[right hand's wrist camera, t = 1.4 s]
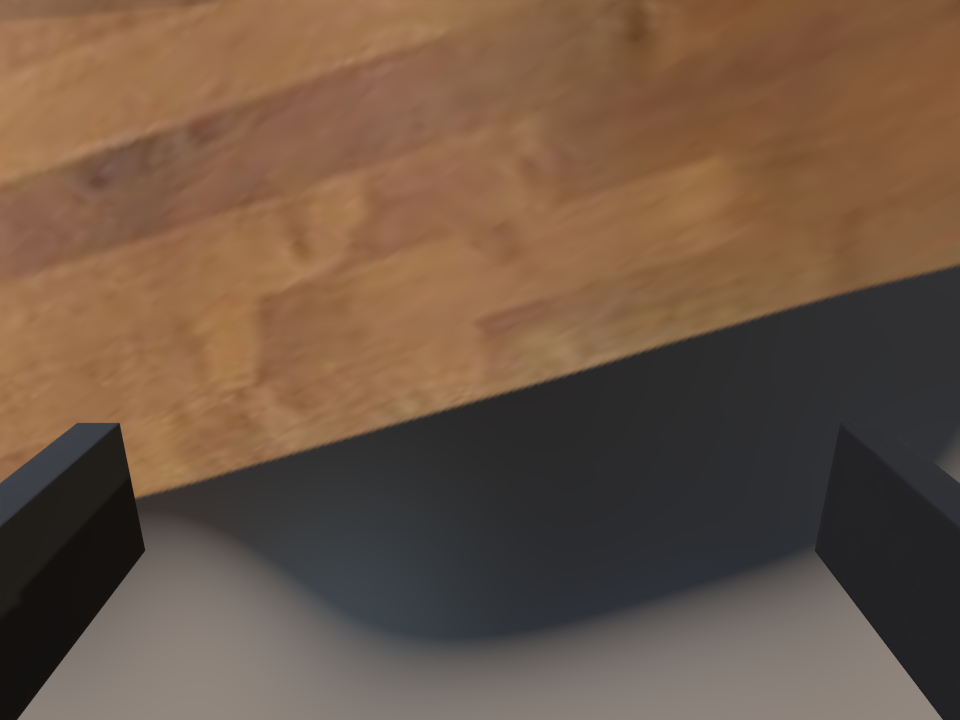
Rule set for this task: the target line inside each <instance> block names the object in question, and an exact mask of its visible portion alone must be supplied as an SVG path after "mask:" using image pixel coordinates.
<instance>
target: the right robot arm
mask: <svg viewBox="0 0 960 720" xmlns="http://www.w3.org/2000/svg"><path fill="white" fill-rule="evenodd" d="M144 551H145V547H144V542H143V537H142V532H141V528H140V523H139V518H138V513H137V508H136V503H135V498H134V493H133V488H132V483H131V478H130V473H129V468H128V463H127V458H126V453H125V448H124V443H123V438H122V433H121V428H120V423H77V424H76V425H74V426H73V427H72V428H70V429H69V430H68V431H67V432H65V433H64V434H63V435H62V436H60V437H59V438H58V439H56V440H55V441H54V442H53V443H51V444H50V445H49V446H47V447H46V448H45V449H44V450H42V451H41V452H40V453H38V454H37V455H36V456H35V457H33V458H32V459H31V460H29V461H28V462H27V463H26V464H24V465H23V466H22V467H21V468H19V469H18V470H17V471H15V472H14V473H13V474H12V475H10V476H9V477H8V478H6V479H5V480H4V481H3V482H1V483H0V720H17V719H18V718H19V716H20V715H21V714H22V713H23V711H24V710H25V709H26V707H27V706H28V705H29V703H30V702H31V701H32V699H33V698H34V697H35V695H36V694H37V693H38V691H39V690H40V689H41V687H42V686H43V685H44V683H45V682H46V681H47V679H48V678H49V677H50V676H51V674H52V673H53V672H54V670H55V669H56V668H57V666H58V665H59V664H60V662H61V661H62V660H63V658H64V657H65V656H66V654H67V653H68V652H69V650H70V649H71V648H72V647H73V645H74V644H75V643H76V641H77V640H78V639H79V637H80V636H81V635H82V633H83V632H84V631H85V629H86V628H87V627H88V625H89V624H90V623H91V621H92V620H93V619H94V617H95V616H96V615H97V613H98V612H99V611H100V610H101V608H102V607H103V606H104V604H105V603H106V602H107V600H108V599H109V598H110V596H111V595H112V594H113V592H114V591H115V590H116V588H117V587H118V586H119V584H120V583H121V582H122V581H123V579H124V578H125V577H126V575H127V574H128V572H129V571H130V570H131V569H132V567H133V566H134V565H135V563H136V562H137V561H138V559H139V558H140V557H141V555H142V554H143V553H144ZM815 551H816V553H817V554H818V555H819V557H820V558H821V559H822V561H823V562H824V563H825V565H826V566H827V567H828V569H829V570H830V571H831V573H832V574H833V575H834V577H835V578H836V579H837V581H838V582H839V583H840V584H841V586H842V587H843V588H844V590H845V591H846V592H847V594H848V595H849V596H850V598H851V599H852V600H853V602H854V603H855V604H856V606H857V607H858V608H859V610H860V611H861V612H862V613H863V615H864V616H865V617H866V619H867V620H868V621H869V623H870V624H871V625H872V627H873V628H874V629H875V631H876V632H877V633H878V635H879V636H880V637H881V639H882V640H883V641H884V643H885V644H886V645H887V647H888V648H889V649H890V650H891V652H892V653H893V654H894V656H895V657H896V658H897V660H898V661H899V662H900V664H901V665H902V666H903V668H904V669H905V670H906V671H907V673H908V674H909V675H910V677H911V678H912V680H913V681H914V682H915V683H916V685H917V686H918V687H919V689H920V690H921V691H922V693H923V694H924V695H925V697H926V698H927V699H928V701H929V702H930V703H931V705H932V706H933V707H934V708H935V710H936V711H937V713H938V714H939V715H940V716H941V718H942V719H943V720H960V483H959V482H957V481H956V480H955V479H954V478H952V477H951V476H950V475H948V474H947V473H946V472H945V471H943V470H942V469H941V468H939V467H938V466H937V465H936V464H934V463H933V462H932V461H931V460H929V459H928V458H927V457H925V456H924V455H923V454H922V453H920V452H919V451H918V450H916V449H915V448H914V447H913V446H911V445H910V444H909V443H907V442H906V441H905V440H904V439H902V438H901V437H900V436H898V435H897V434H896V433H895V432H893V431H892V430H891V429H890V428H888V427H887V426H886V425H884V424H883V423H841V424H840V428H839V433H838V438H837V443H836V448H835V453H834V458H833V463H832V468H831V473H830V478H829V483H828V488H827V493H826V498H825V503H824V508H823V513H822V518H821V523H820V527H819V532H818V537H817V543H816V547H815Z"/></svg>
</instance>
